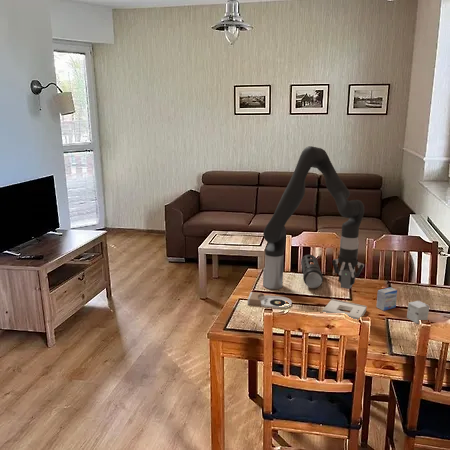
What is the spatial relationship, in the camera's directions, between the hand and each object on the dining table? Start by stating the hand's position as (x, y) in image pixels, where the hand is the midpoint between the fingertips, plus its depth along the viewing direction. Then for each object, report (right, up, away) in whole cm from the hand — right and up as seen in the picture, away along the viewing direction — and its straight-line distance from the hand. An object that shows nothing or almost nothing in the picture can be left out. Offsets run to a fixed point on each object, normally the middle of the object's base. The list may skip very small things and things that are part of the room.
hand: (346, 283), depth 197 cm
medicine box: (+20, -12, +9) cm, 25 cm away
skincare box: (+30, -15, -3) cm, 33 cm away
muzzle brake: (-8, -4, +41) cm, 42 cm away
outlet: (0, -13, +3) cm, 14 cm away
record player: (-32, -11, +14) cm, 37 cm away
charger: (0, -1, 0) cm, 1 cm away
